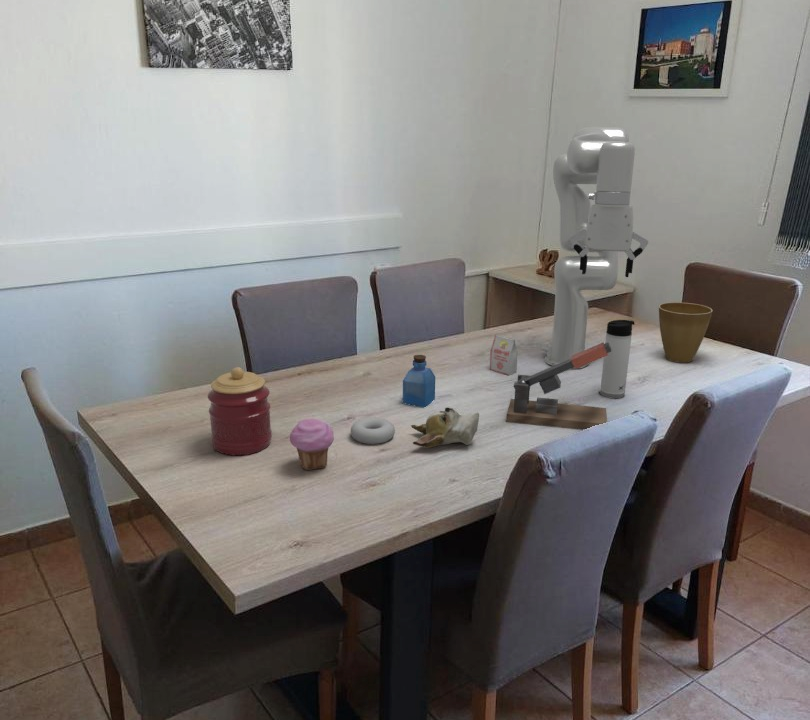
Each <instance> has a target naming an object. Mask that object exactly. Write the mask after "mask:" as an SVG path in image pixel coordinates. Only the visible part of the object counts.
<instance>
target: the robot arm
mask: <svg viewBox="0 0 810 720" xmlns="http://www.w3.org/2000/svg"><path fill="white" fill-rule="evenodd" d="M635 151H636V148H635V145H634V144H633V143H631V142H630V141H629V136H628V133H627V131H626V130H625V129H624V128H622V127H619V126H586V127H583V128H580V129H579V130H577V131H576V132H575V133H574V134H573V136H572V138H571V140H570V142H569V145H568V147H567V153H563V154H561V155H558V156H557V157H556V158H555V160H554V162H553V169H552V178H553V184H554V188H555V192H556V195H557V198H558V201H559V241H560V242H559V243H560V247H561V248H562V250H564V251H566V252H572V253H577V254H578V255H568V256H564V257H561V258H558V259H557V261H556V262H555V264H554V269H553V273H554V288H555V289H554V293H555V294H554V310H553V311H554V313H553V325H552V335H551V336H552V337H551V343H549V342H546V341H545V342H542V344H541V345H542V346H541V347H540V350H541V351H545V352H547V354H546V355H545V357H544V361H545V363H546V364H548V365H550V366H551V367H552V366H554V365H557V364H559V363H561V362H564V361H566V360H568V359H571V356H572V355H575V354H577V353H579V352H582V351H584V350H585V348H586V347H585V346H586V336H587V327H588V326H587V325H588V315H589V303H588V301H587V300H586V298H585V296H584V295H583V294H582V293H581V291H610V290H612V289H614V288H615V286H616V284H617V282H618V272H619V267H618V266H619V263H618V262H619V261H618V260H619V259H618V258H619V254H618V253H619V252H623V253H625V255H626V257H627V259H626V265H625V275H624V276H625V278H629V274H632V273H633V268H634V267H633V266H634V260H635V259H636V258H637V257H638V256H639V255H641V254H642V253H643V251H644V250H645V249H646V247H647V246H648V244H649V240H648V239H647V238H646V237H643V236H642V235H639V234H638V233H636V232H635V231H634V209H633V206H632V205H630V201H631V192H632V191H631V190H632V182H633V174H634V163H635V155H636V153H635ZM579 185H596V188H595V192H592V193H590V192H589V194H588V195H587V193H586V192H585V191H584V190H583V188H581V187H580V186H579ZM591 201H594V204H591ZM633 240H635V241H636V242H638V243H639V246H638V247H637V248H636V249H635V250H634V251H633V250H632V249H631V248H632V243H633ZM588 253H597V254H598V256H597V255H596V256H593V255H589V256H588ZM588 365H589V364H586V365H584V366H582V367H579V368H578V369H582V368H585V367H587V366H588ZM572 369H573V370H576V369H575V367H574V368H571V369H570V370H572Z"/></svg>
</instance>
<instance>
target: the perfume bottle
mask: <svg viewBox="0 0 810 720" xmlns="http://www.w3.org/2000/svg"><path fill="white" fill-rule="evenodd" d="M426 359H427V356H426V355H424V354H416V355H413V360H412V366H413V367H412V368H411V369H409V370H408V371H407V373H406V374H405V377H404V378H403V379H402V404H403V403H406V404H405V405H408V404H410V405H409V406H413V405H415V407H418V406H420V408H424V407H426V406H427V407H428V406H430V404H432V403H433V402H434V401H435V400H436V375H435V373H434V372H433V371H432V369H431V368H430V367H426V366H427V360H426ZM433 400H434V401H433ZM432 401H433V402H432ZM427 407H426V408H427Z"/></svg>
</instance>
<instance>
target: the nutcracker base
mask: <svg viewBox="0 0 810 720" xmlns="http://www.w3.org/2000/svg"><path fill="white" fill-rule="evenodd" d="M522 376H525V377H529V376H530V375H527V374H518V375H517V381H519V378H520V377H522ZM530 387H531V386H529V387H528V385H527V384H517V383H516V384H515V388H514V398H510V401H509V403H508V404H509V405H508V408H507V412H506V416H505V417H506V418H505V419H506V421H505V422H508V423H516V424H517V423H518V424H526V425H533V426H534V425H535V426H546V427H554V428H555V427H556V428H562V429H563V428H564V429H572V430H574V429H575V430H583V429H587V428H590V427H592V426H595V425H599V424H603V423H606V422H607V423H608V418H607V417H608V416H607V413H608V411H607V407H600V406H592V405H591V406H588V405H579V404H578V405H577V404H570V403H569V404H568V403H559V399H557V398H548V397H547V398H546V397H540V396H539V397H536V400H530V392H531V389H530Z"/></svg>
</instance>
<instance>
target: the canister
mask: <svg viewBox="0 0 810 720" xmlns="http://www.w3.org/2000/svg"><path fill="white" fill-rule="evenodd" d="M210 383H211V384H210V388H211V390H210V391H209V392H208V394H207V399H208V401H210V407H209V408H208V413H209V418H210V420H209V421H210V429H211V430H210V431H211V434H210V438H211V440H210V441H211V443H212V447H213V449H214V448H215V449H216V450H215V449H214V450H215V451H217V452H218V451H219V453H220V452H221V453H220V454H223V453H225V455H228V454H229V455H231V456H242V455H243V456H245V455H250V454H254V453H257V452H260V450H261V451H263V450H265V449H266V448H267V447H268V446H270V444H271V441H272V436H273V433H272V428H271V427H272V425H271V412H270V410H271V409H270V408H271V403H270V402H269V401H268V397H269V395H270V392H271V391H270V389H269V388H268V387H267V386H265V383H266V381H265V379H264V378H263V377H262V376H260V375H257V374H256V373H255V372H252V371H251V372H250V371H244V369H242V368H241V367H239V366H237V367H234V368H232V369H231V371H230V372H226V373H223V374H221V375H219V376H218V377H217V378H215V379H214V380H213V381H212V382H210ZM264 448H265V449H264Z"/></svg>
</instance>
